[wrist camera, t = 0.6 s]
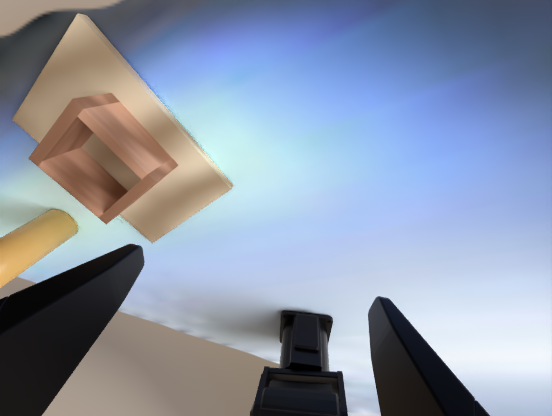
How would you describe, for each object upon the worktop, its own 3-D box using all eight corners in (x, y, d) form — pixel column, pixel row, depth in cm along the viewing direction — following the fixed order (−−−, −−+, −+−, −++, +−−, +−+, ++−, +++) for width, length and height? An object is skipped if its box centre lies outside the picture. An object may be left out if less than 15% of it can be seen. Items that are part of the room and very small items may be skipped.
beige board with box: (233, 185, 23) (217, 209, 19) (156, 238, 28) (130, 267, 24) (86, 15, 17) (23, 1, 14) (21, 117, 22) (-40, 128, 18)
